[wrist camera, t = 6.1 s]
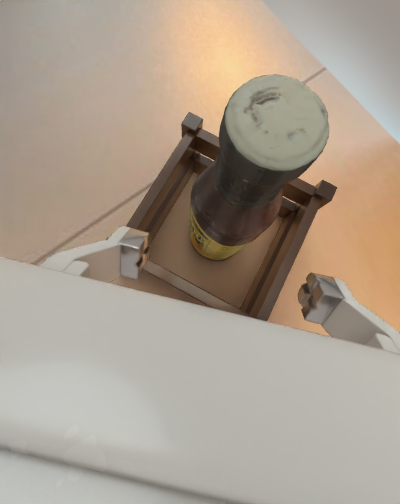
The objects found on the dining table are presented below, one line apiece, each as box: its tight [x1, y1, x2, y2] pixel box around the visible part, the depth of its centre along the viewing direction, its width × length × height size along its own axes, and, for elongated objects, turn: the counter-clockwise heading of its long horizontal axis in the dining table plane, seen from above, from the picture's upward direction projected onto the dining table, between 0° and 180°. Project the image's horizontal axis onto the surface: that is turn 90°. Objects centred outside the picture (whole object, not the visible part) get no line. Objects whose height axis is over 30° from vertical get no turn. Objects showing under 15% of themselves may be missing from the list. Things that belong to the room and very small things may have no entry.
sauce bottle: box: [190, 74, 329, 260], centre depth 18 cm, size 7×6×20 cm
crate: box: [106, 112, 337, 321], centre depth 24 cm, size 16×16×7 cm
